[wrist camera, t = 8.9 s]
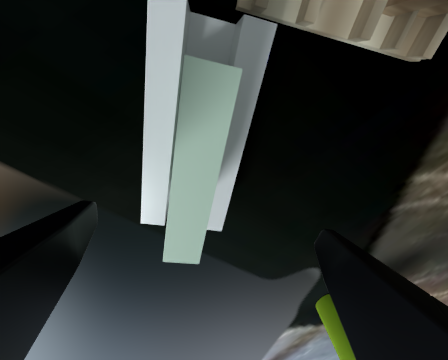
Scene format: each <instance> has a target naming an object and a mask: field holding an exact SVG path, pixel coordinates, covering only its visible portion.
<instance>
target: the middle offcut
mask: <svg viewBox="0 0 448 360" xmlns="http://www.w3.org/2000/svg"><path fill="white" fill-rule="evenodd" d="M444 3H448V0H388V2H387V4H386V6H385V8H384V10H383V13H382V14H384V15H387V16H390V17H392V16H396V15H400V14H404V13H408V12H412V11H416V10H420V9H424V8H428V7H432V6H436V5H440V4H444Z"/></svg>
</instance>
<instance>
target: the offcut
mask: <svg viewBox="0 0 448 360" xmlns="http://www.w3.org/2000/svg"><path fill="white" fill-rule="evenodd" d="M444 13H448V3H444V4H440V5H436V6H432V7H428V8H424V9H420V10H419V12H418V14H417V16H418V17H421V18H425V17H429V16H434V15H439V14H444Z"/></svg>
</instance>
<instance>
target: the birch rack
mask: <svg viewBox="0 0 448 360" xmlns="http://www.w3.org/2000/svg"><path fill="white" fill-rule="evenodd" d="M387 2H388V0H237V6H236V10H238V11H241V12H245V13H248V14H251V15H255V16H258V17H262V18H265V19H268V20H272V21H275V22H278V23H282V24H285V25H289V26H292V27H295V28H299V29H302V30H305V31H309V32H312V33H315V34H319V35H322V36H326V37H329V38H332V39H336V40H339V41H342V42H346V43H349V44H353V45H356V46H359V47H363V48H366V49H369V50H373V51H376V52H379V53H383V54H386V55H390V56H393V57H396V58H400V59H403V60H406V61H420V60H421V59H431V58H432V56H433V55H434V53H435V51H436V50H437V48H438V46H439V45H440V43H441V41H442V39H443V38H444V36H445V34H446V33H447V31H448V13H444V14H439V15H434V16H429V17H425V18H421V17H418V16H417V14H418V12H419V10H416V11H412V12H408V13H404V14H400V15H396V16H392V17H390V16H387V15H384V14H382V13H383V10H384V8H385V6H386V4H387Z"/></svg>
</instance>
